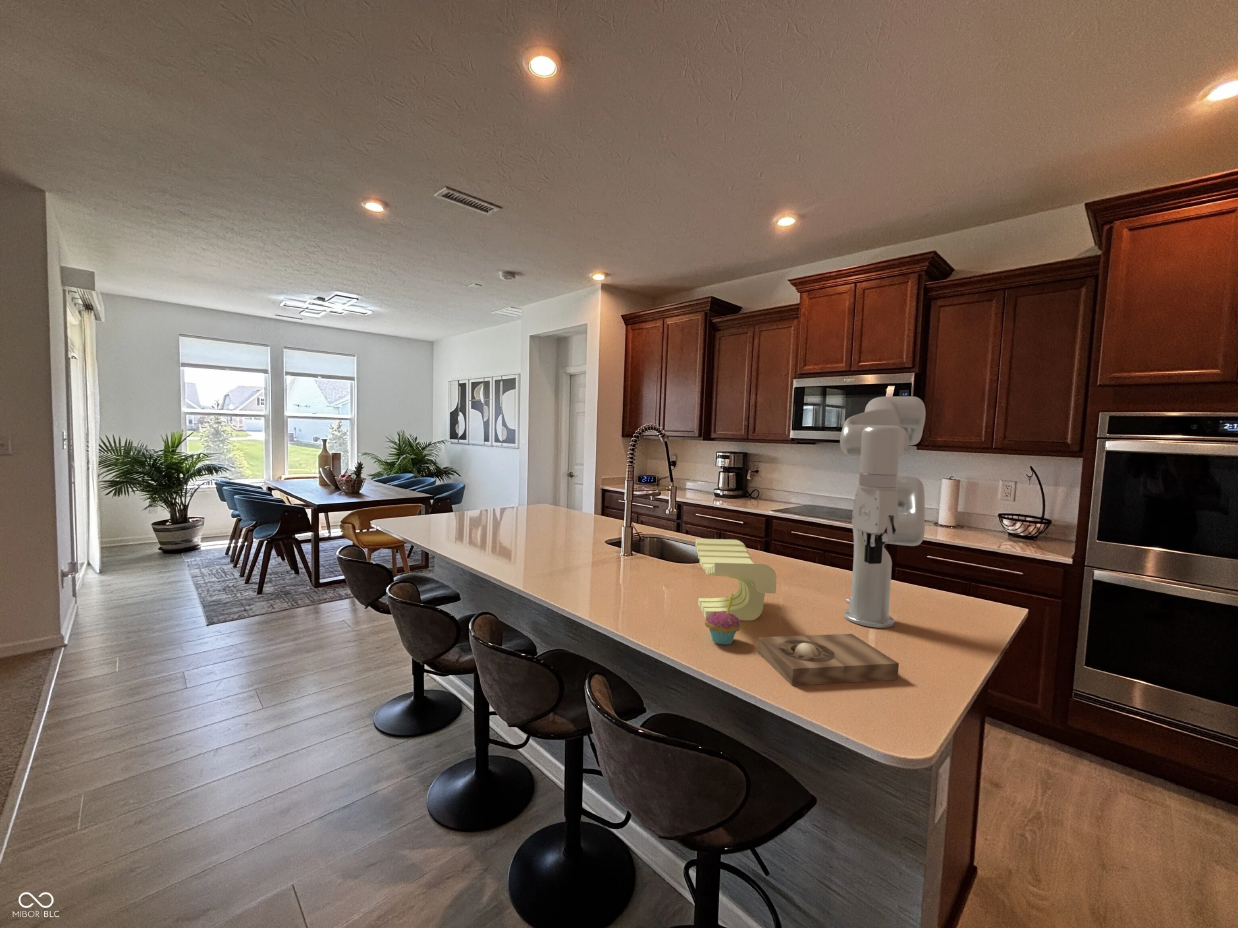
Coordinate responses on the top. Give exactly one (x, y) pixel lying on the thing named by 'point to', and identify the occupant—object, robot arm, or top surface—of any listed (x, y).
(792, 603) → the top surface
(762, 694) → the top surface
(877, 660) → the board
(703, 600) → the slatted curved stool
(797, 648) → the ball
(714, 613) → the cupcake
